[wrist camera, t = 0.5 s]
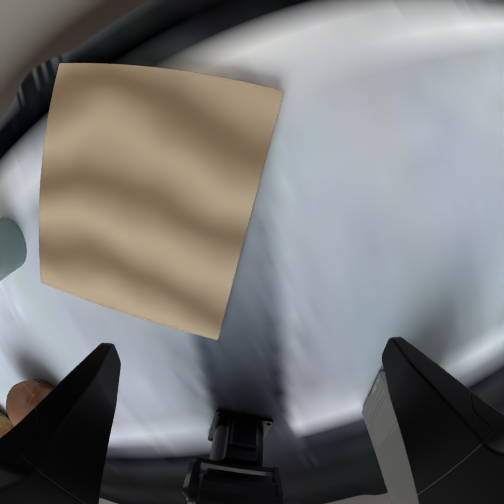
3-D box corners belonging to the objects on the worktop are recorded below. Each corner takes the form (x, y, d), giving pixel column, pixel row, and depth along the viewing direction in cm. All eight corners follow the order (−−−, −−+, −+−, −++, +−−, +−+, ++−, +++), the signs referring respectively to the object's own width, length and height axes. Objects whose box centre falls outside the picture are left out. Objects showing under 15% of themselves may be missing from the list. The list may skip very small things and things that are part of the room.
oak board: (220, 330, 27) (217, 340, 26) (49, 276, 26) (41, 282, 25) (283, 94, 20) (284, 91, 19) (69, 65, 19) (59, 63, 18)
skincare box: (359, 408, 31) (387, 530, 16) (381, 362, 28) (429, 497, 13) (421, 404, 31) (461, 509, 16) (445, 361, 28) (505, 471, 13)
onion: (73, 397, 38) (63, 457, 31) (19, 375, 34) (5, 434, 27) (76, 386, 32) (63, 459, 25) (10, 358, 28) (-7, 430, 21)
